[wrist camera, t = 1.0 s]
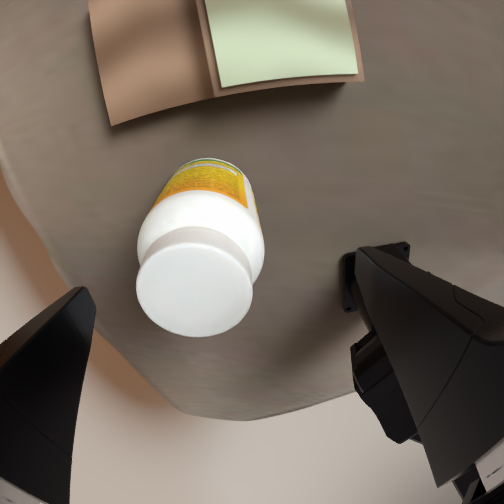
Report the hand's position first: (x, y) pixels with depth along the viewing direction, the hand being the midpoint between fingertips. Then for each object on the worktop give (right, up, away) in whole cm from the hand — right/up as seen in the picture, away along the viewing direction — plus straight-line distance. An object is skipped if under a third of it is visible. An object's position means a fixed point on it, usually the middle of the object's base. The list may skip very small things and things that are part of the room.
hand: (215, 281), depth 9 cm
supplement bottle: (-2, +5, +12) cm, 13 cm away
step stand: (-1, +15, +6) cm, 17 cm away
